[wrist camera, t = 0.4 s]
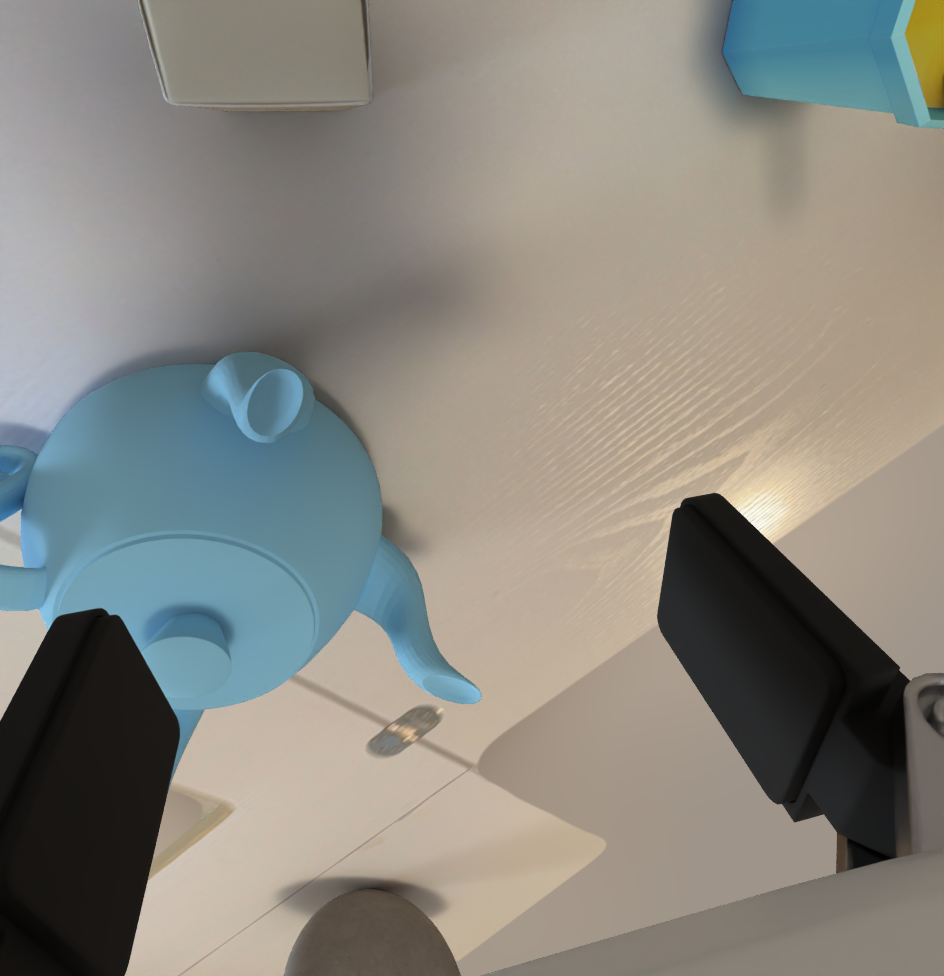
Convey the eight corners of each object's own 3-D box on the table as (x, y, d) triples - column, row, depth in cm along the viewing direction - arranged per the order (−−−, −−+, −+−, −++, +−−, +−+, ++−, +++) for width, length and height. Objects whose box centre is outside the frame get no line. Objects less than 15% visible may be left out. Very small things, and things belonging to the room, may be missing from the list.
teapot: (450, 535, 36) (500, 700, 26) (181, 660, 37) (128, 868, 27) (301, 270, 26) (287, 368, 16) (-61, 447, 27) (-291, 647, 17)
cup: (857, 181, 29) (1244, 228, 17) (715, 244, 30) (996, 336, 17) (869, -215, 22) (1601, -657, 9) (675, -126, 22) (1139, -442, 9)
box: (219, 111, 23) (148, 108, 13) (189, -36, 20) (80, -161, 11) (356, 111, 24) (377, 107, 14) (343, -31, 21) (358, -143, 12)
